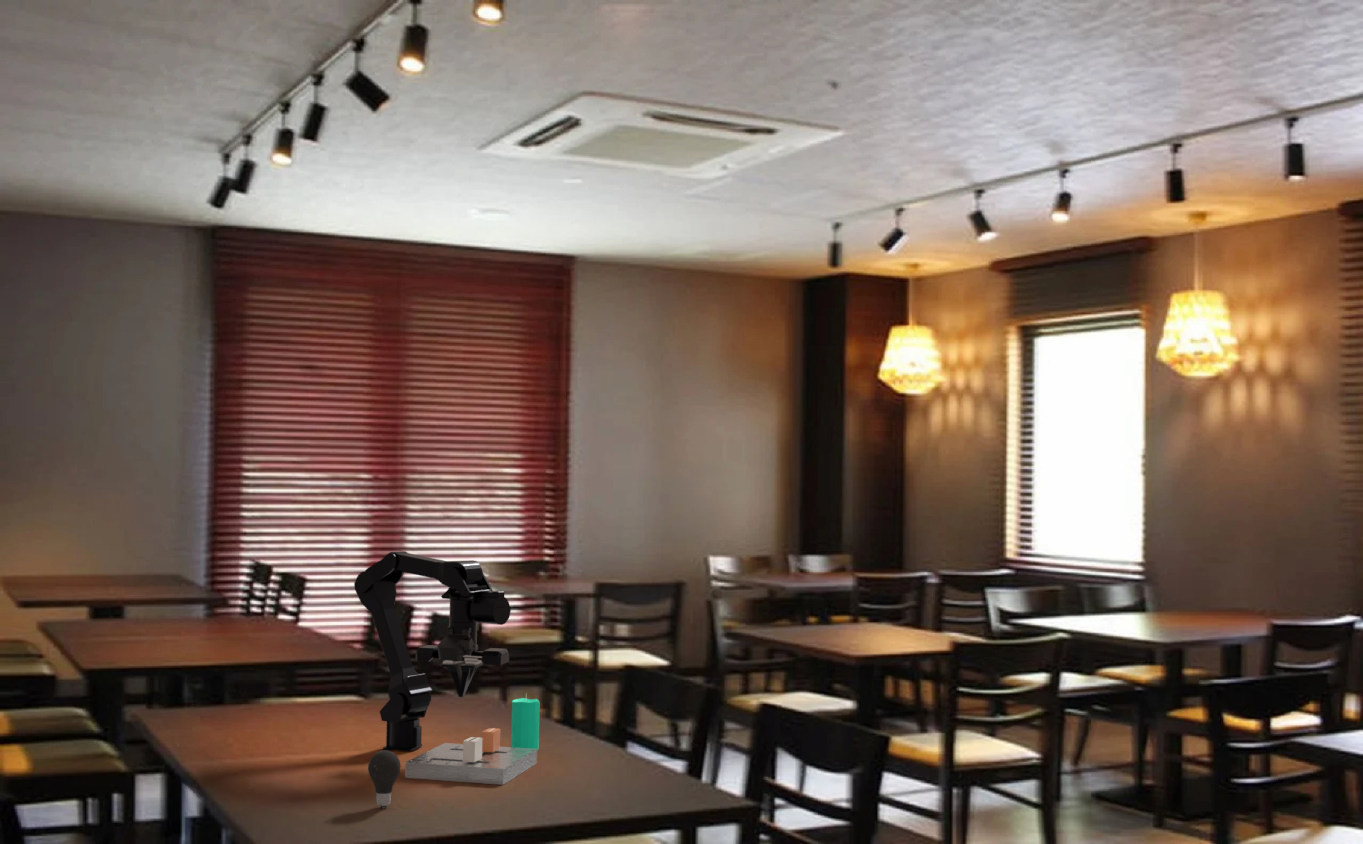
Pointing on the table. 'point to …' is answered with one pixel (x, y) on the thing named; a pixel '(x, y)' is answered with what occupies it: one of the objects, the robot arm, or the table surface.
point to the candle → (525, 723)
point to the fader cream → (472, 749)
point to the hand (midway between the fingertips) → (461, 696)
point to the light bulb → (384, 775)
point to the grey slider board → (471, 765)
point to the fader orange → (490, 740)
